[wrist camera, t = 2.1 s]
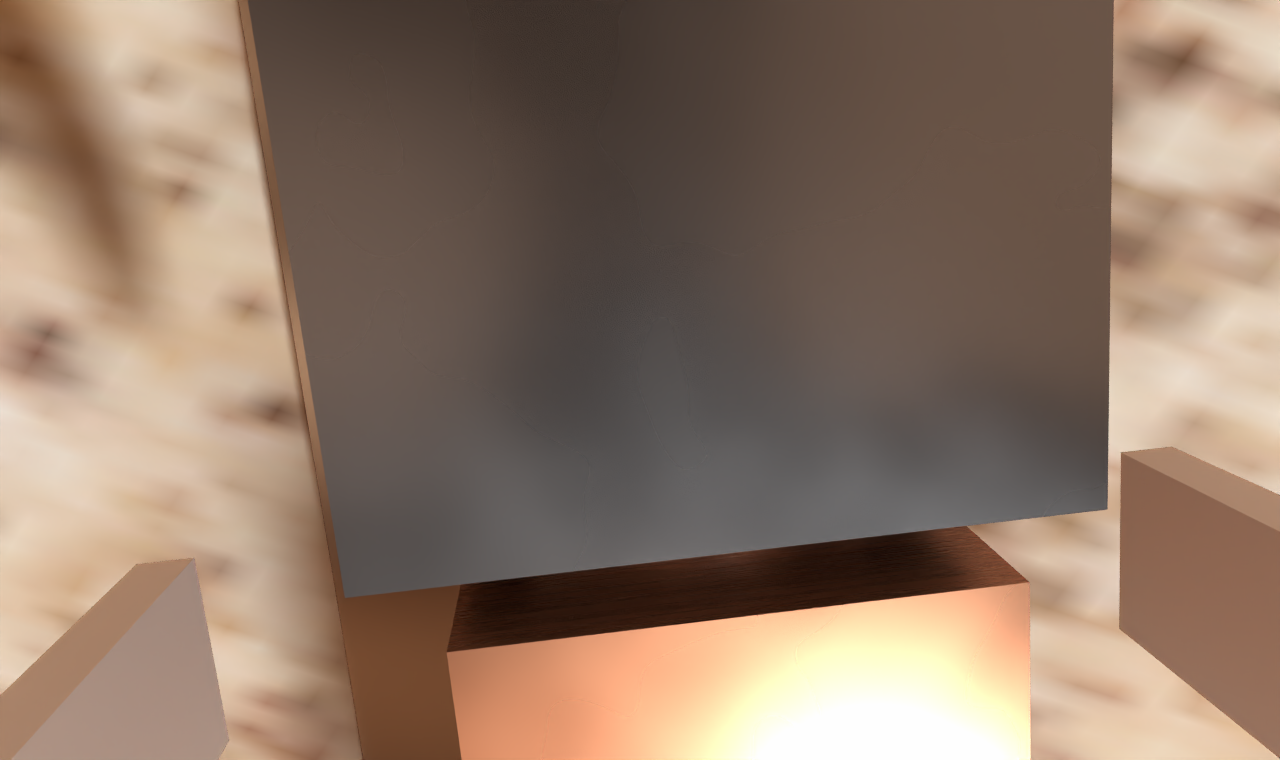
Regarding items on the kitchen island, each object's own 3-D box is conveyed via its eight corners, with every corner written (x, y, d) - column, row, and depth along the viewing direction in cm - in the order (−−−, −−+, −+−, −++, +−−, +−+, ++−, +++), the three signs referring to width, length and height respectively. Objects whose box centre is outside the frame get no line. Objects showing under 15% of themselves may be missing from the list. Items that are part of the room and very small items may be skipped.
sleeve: (389, -174, 17) (134, -697, 7) (780, -201, 18) (1120, -733, 7) (457, 355, 19) (345, 597, 9) (807, 319, 20) (1107, 509, 9)
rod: (416, -190, 14) (278, -542, 7) (790, -216, 14) (1023, -579, 7) (553, 920, 17) (554, 1420, 10) (845, 879, 18) (1033, 1339, 11)
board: (214, -229, 17) (197, -248, 16) (932, -276, 18) (950, -297, 17) (438, 1158, 23) (434, 1194, 22) (964, 1079, 24) (978, 1111, 23)
